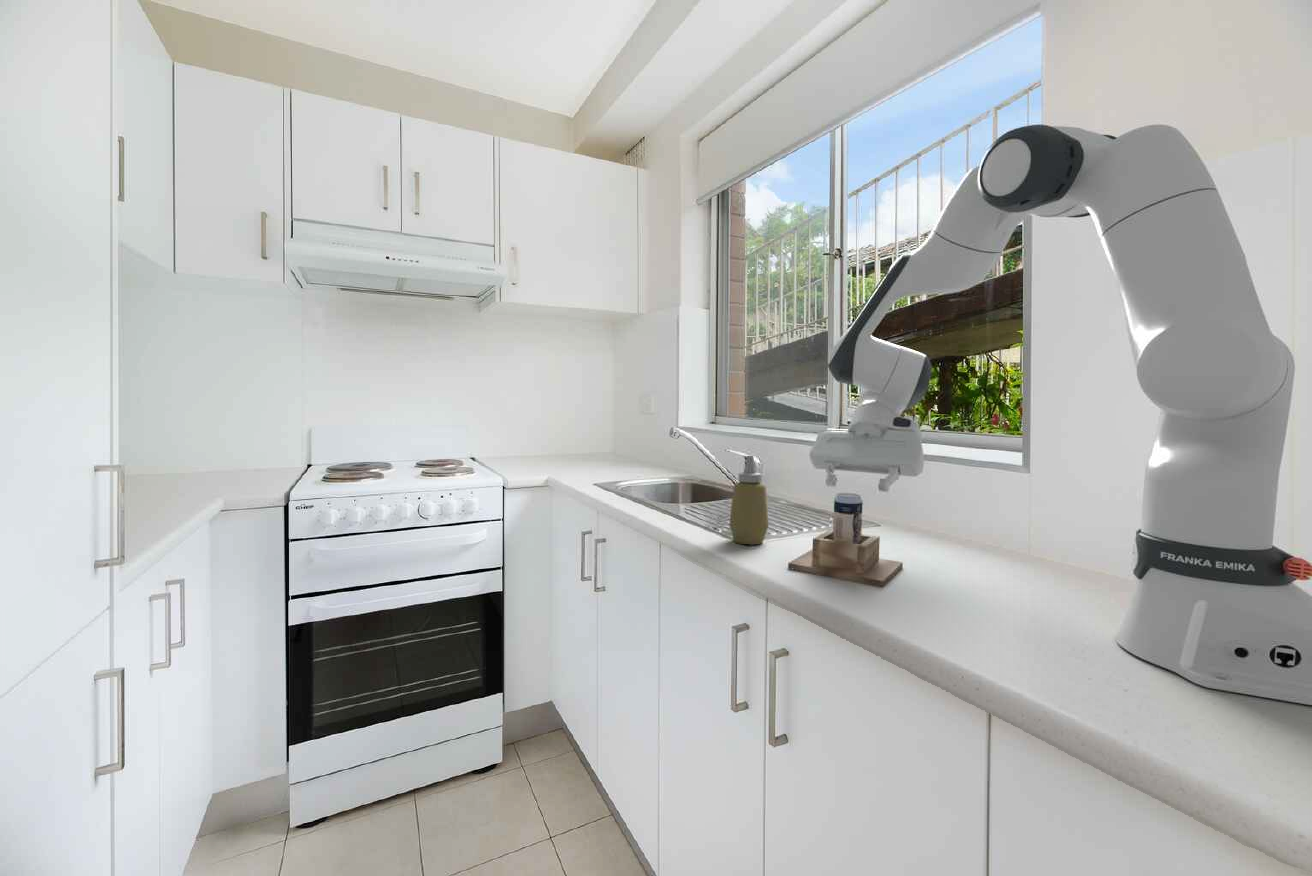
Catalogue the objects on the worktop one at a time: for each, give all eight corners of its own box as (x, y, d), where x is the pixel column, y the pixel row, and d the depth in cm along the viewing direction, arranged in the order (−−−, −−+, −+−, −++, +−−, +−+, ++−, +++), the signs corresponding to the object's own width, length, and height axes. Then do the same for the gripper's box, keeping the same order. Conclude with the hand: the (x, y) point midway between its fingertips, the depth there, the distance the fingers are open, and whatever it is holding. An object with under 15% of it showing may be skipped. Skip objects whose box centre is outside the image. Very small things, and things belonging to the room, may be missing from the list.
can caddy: (902, 567, 102) (903, 537, 101) (882, 587, 91) (884, 553, 91) (814, 552, 111) (815, 524, 111) (788, 568, 101) (788, 537, 100)
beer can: (862, 567, 99) (865, 498, 98) (833, 565, 100) (835, 496, 99) (858, 559, 103) (860, 493, 103) (830, 557, 104) (832, 492, 103)
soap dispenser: (727, 536, 123) (728, 453, 122) (765, 537, 123) (767, 454, 122) (730, 546, 115) (732, 457, 114) (771, 547, 115) (773, 458, 114)
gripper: (816, 418, 115) (796, 471, 108) (927, 421, 104) (913, 481, 96) (823, 439, 119) (804, 491, 112) (930, 444, 107) (917, 503, 100)
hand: (855, 487), depth 104 cm, fingers open, 8 cm apart
